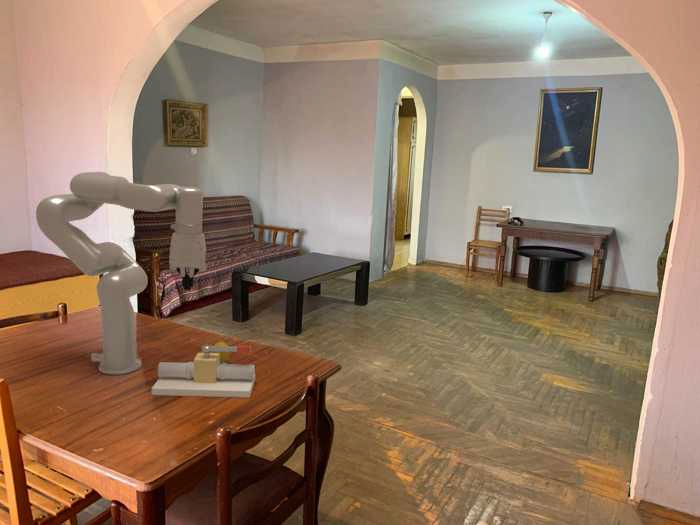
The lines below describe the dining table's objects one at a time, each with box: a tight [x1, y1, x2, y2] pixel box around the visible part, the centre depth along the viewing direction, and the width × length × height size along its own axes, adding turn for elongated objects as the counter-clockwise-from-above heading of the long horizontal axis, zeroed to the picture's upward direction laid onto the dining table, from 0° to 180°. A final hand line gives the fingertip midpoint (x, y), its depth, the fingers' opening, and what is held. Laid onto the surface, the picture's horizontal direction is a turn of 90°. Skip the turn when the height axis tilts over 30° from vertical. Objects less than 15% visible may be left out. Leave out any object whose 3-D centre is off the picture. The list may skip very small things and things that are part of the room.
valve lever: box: [201, 344, 252, 355], centre depth 161 cm, size 14×3×2 cm, turn 94°
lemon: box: [211, 341, 230, 364], centre depth 178 cm, size 6×6×8 cm
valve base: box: [151, 352, 256, 399], centre depth 160 cm, size 28×12×10 cm, turn 92°
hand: (187, 288), depth 162 cm, fingers closed
